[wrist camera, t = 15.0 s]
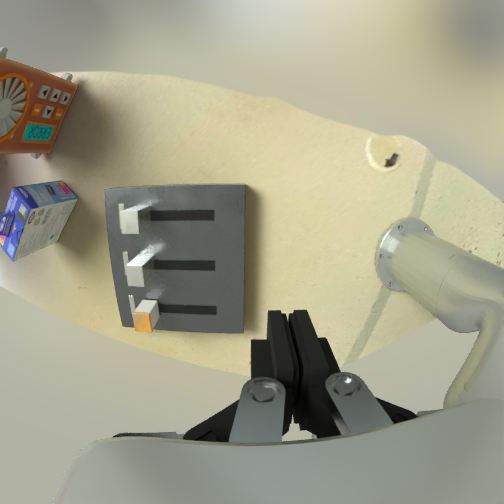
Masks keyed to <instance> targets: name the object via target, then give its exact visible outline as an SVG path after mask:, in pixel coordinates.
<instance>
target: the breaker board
mask: <svg viewBox="0 0 504 504" xmlns="http://www.w3.org/2000/svg"><path fill="white" fill-rule="evenodd" d="M105 206H106V220H107V232H108V242H109V250H110V258H111V266H112V273H113V279H114V285H115V291H116V297H117V302H118V307H119V312H120V317H121V322H122V326H124V327H133V328H135V326H134V321H133V316H132V313H133V312H134V311H135V310H136V308H137V307H138V306H139V304H140V303H141V301H142V300H155V301H157V302H158V309H159V316H160V317H159V319H158V321H157V323H156V324H155V326H154V328H153V329H156V330H169V331H185V332H206V333H244V226H245V184H175V185H151V186H134V187H119V188H110V189H105Z"/></svg>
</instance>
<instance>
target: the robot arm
mask: <svg viewBox="0 0 504 504" xmlns="http://www.w3.org/2000/svg"><path fill="white" fill-rule="evenodd" d="M398 226H399V227H398ZM375 266H376V271H377V274H378V277H379V278H380V280H381V281H382V282H383V283H384V284H385V285H386V286H387V287H388V288H390V289H392V290H394V291H407V292H408V293H410V294H411V295H412V296H413V297H414V298H415V299H416V300H418V301H419V302H420V303H421V304H422V305H423V306H424V307H425V308H427V309H428V310H429V311H430V312H431V313H432V314H433V315H434V316H435V317H437V318H438V319H439V320H440V321H441V322H442V323H443V324H444V325H446V326H447V327H448V328H449V329H451V330H453V331H455V332H459V333H469V332H475V331H479V330H480V332H479V335H478V337H477V340H476V342H475V344H474V346H473V348H472V350H471V352H470V354H469V356H468V357H467V359H466V361H465V363H464V364H463V366H462V368H461V369H460V371H459V373H458V374H457V376H456V378H455V379H454V381H453V382H452V384H451V386H450V387H449V389H448V391H447V394H446V396H445V399H444V404H443V405H444V406H443V409H440V410H431V411H421V412H418V413H417V414H416V415H415V414H414V413H413V412H411V411H409V410H407V409H404V408H402V407H399V406H396V405H393V404H391V403H389V402H386V401H384V400H381V399H379V398H376V397H374V395H373V394H372V392H371V391H370V390H369V389H368V387H367V385H366V384H365V383H364V381H363V380H362V379H361V378H360V377H359V376H357V375H355V374H352V373H348V372H341V371H340V369H339V367H338V364H337V362H336V359H335V357H334V355H333V352H332V350H331V348H330V345H329V343H328V341H327V339H326V338H325V337H323V338H318V337H317V334H316V332H315V329H314V327H313V324H312V322H311V319H310V317H309V314H308V312H307V310H294V312H293V313H289V319H288V320H287V316H286V314H282V313H281V310H271V311H268V322H267V340H251V380H249V381H247V382H246V383H245V384H244V386H243V388H242V391H241V395H240V399H239V400H237V401H236V402H234V403H233V404H231V405H230V406H228V407H226V408H225V409H223V410H222V411H220V412H218V413H217V414H215V415H214V416H212V417H210V418H209V419H207V420H205V421H203V422H202V423H200V424H198V425H197V426H195V427H193V428H191V429H190V430H189V431H187V432H186V434H177V433H176V432H159V433H119V434H117V435H115V436H113V437H112V438H106V439H101V440H97V441H94V442H92V443H89V444H88V445H86V446H85V447H83V448H82V449H81V450H80V451H79V453H78V454H77V455H76V456H75V458H74V459H73V460H72V462H71V464H70V465H69V467H68V469H67V470H66V472H65V474H64V476H63V478H62V480H61V483H60V484H59V487H58V489H57V491H56V493H55V496H54V498H53V501H52V504H504V269H503V268H501V267H499V266H497V265H495V264H492V263H490V262H488V261H486V260H484V259H482V258H480V257H478V256H476V255H474V254H472V253H470V252H468V251H466V250H463V249H461V248H459V247H457V246H455V245H453V244H451V243H448V242H446V241H444V240H442V239H440V238H437V237H435V235H434V233H433V231H432V229H431V228H430V227H429V226H428V225H427V224H426V223H425V222H423V221H421V220H419V219H415V218H405V219H401V220H399V221H397V222H395V223H394V224H392V225H391V226H390V227H389V228H388V229H387V230H386V231H385V233H384V234H383V235H382V237H381V239H380V241H379V243H378V246H377V249H376V255H375ZM292 415H293V419H294V423H296V424H297V423H299V426H300V430H307V431H309V432H311V433H312V439H308V440H297V441H283V442H282V436H283V435H284V434H286V433H287V432H288V431H289V426H290V424H291V421H292Z"/></svg>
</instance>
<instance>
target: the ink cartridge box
mask: <svg viewBox="0 0 504 504" xmlns="http://www.w3.org/2000/svg"><path fill="white" fill-rule="evenodd" d="M77 200H78V198H77V197H76V196H75V195H74V194H73V192H72V191H71V190H70V189H69V188H68V187H67V186H66V185H65V183H64V182H63V181H54V182H47V183H40V184H33V185H26V186H20V187H14V188H13V189H12V191H11V194H10V197H9V200H8V203H7V206H6V209H5V212H4V213H0V222H1V220H2V223H1V226H0V245H1V247H2V248H3V249H4V251H5V252H6V253H7V254H8V256H9V257H10V258H11V259H12V261H15V260H17V259H19V258H21V257H23V256H26V255H28V254H30V253H32V252H34V251H37V250H39V249H41V248H43V247H46V246H48V245H50V244H53V243H55V242H57V240H58V238H59V236H60V234H61V232H62V230H63V228H64V226H65V224H66V221H67V219H68V218H69V216H70V214H71V212H72V210H73V208H74V206H75V204H76V202H77Z"/></svg>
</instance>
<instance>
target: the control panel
mask: <svg viewBox="0 0 504 504" xmlns="http://www.w3.org/2000/svg"><path fill="white" fill-rule="evenodd" d="M7 51H8V50H7V48H4V47H0V154H16V153H31V154H30V155H31V156H32V157H34V158H36V159H37V158H39V156H40V154H41V153H50V152H51V150H52V147H53V144H54V141H55V138H56V136H57V133H58V131H59V128H60V126H61V123H62V121H63V118H64V116H65V114H66V111H67V109H68V107H69V105H70V103H71V100H72V98H73V96H74V94H75V92H76V90H77V88H78V85H77V84H74V83H72V82H71V79H72V77H73V76H72V74H69V73H64V74H63V76H62V77H61V78H59V77H57V76H54V75H52V74H49V73H46V72H44V71H41V70H38V69H36V68H33V67H30V66H27V65H24V64H21V63H18V62H15V61H12V60H9V59H6V58H5V57H6V54H7Z"/></svg>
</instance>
